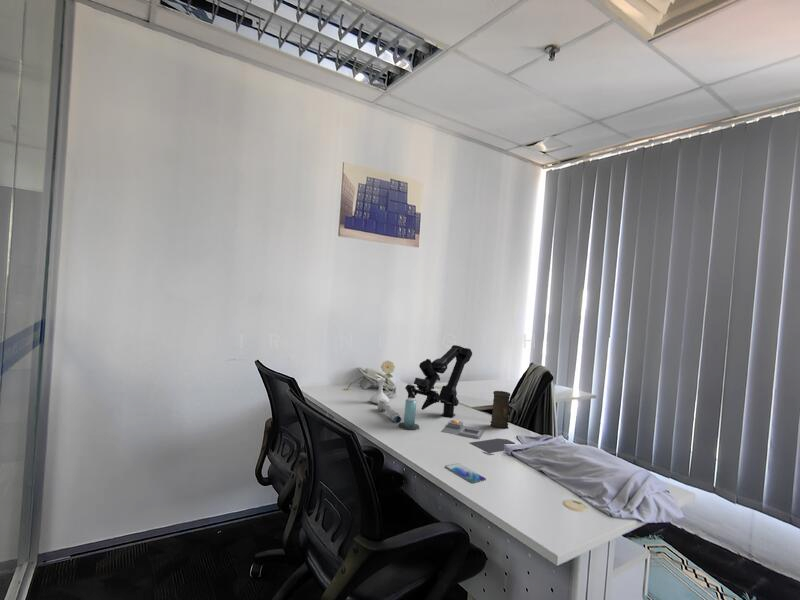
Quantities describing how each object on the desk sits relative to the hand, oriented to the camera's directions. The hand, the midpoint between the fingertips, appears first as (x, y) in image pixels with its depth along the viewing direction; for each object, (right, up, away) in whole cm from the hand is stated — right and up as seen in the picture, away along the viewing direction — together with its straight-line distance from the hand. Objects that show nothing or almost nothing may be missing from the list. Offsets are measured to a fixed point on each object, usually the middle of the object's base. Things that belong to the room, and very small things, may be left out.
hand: (414, 407), depth 203 cm
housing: (+23, -11, -5) cm, 26 cm away
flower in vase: (-18, -8, +38) cm, 43 cm away
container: (+43, -13, +8) cm, 45 cm away
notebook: (+35, -13, -21) cm, 43 cm away
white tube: (-13, -8, +14) cm, 21 cm away
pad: (-3, -9, -2) cm, 9 cm away
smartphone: (+16, -11, -52) cm, 56 cm away
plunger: (+20, -10, +1) cm, 22 cm away
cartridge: (-3, -8, -2) cm, 9 cm away
